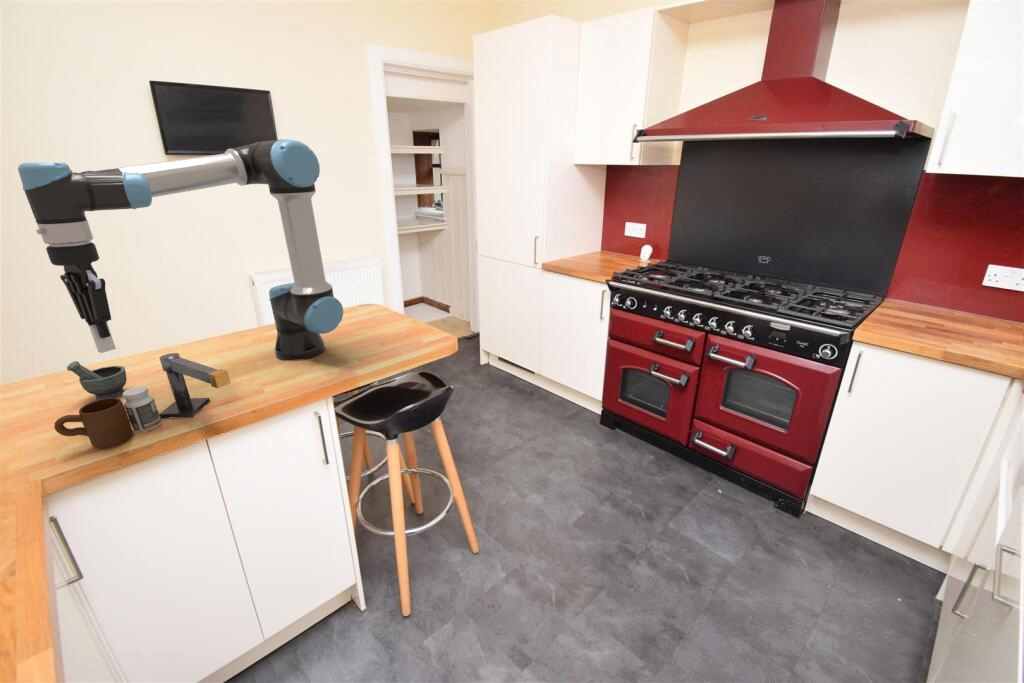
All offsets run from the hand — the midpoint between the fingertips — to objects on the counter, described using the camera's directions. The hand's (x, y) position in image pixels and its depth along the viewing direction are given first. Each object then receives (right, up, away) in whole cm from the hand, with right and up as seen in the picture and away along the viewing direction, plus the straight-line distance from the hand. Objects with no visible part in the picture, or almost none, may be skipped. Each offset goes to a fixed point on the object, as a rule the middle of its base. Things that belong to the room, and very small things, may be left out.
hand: (107, 350), depth 103 cm
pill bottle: (+2, -19, +10) cm, 21 cm away
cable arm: (+14, -6, +8) cm, 17 cm away
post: (+6, -16, +17) cm, 24 cm away
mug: (-4, -22, +3) cm, 22 cm away
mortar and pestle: (-21, -13, +24) cm, 35 cm away
